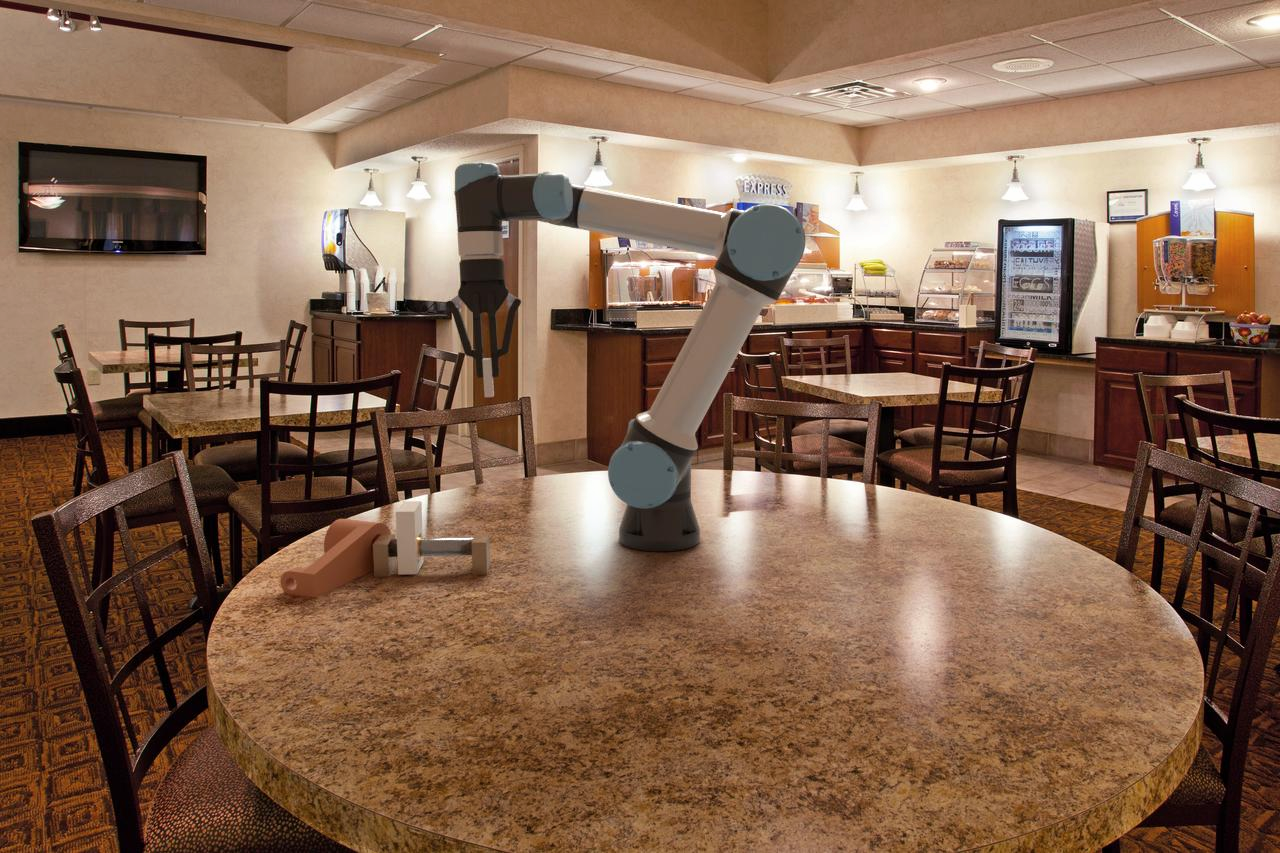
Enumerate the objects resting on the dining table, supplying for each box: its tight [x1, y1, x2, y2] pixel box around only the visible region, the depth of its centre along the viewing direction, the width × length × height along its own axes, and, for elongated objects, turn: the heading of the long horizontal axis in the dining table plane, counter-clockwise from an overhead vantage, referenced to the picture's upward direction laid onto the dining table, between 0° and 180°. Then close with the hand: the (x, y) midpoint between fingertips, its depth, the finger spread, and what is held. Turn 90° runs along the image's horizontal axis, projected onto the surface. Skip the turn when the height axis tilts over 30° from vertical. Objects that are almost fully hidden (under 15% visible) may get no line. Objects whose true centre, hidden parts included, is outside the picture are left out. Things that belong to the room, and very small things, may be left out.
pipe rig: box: [373, 532, 491, 578], centre depth 156 cm, size 18×6×6 cm, turn 94°
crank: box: [280, 518, 392, 598], centre depth 154 cm, size 20×8×8 cm, turn 160°
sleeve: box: [395, 500, 425, 575], centre depth 156 cm, size 3×7×11 cm, turn 4°
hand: (489, 396), depth 162 cm, fingers closed
